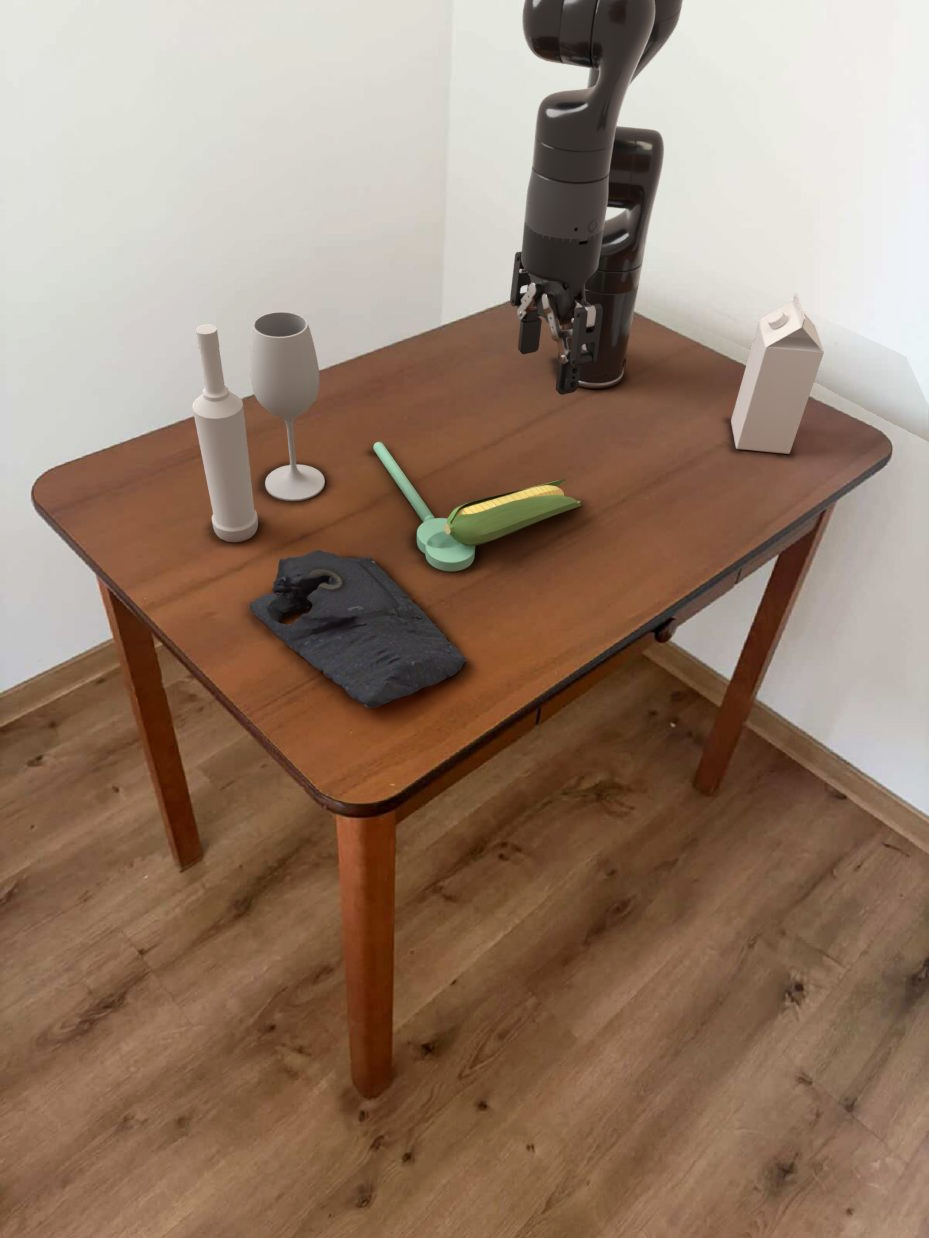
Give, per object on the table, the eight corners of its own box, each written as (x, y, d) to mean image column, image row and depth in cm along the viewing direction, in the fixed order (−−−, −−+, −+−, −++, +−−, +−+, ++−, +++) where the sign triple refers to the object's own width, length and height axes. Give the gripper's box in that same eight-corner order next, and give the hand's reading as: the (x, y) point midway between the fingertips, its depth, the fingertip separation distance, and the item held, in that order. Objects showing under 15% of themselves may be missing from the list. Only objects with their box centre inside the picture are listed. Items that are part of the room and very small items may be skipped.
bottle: (221, 548, 109) (187, 346, 91) (207, 522, 112) (172, 322, 95) (265, 536, 111) (240, 336, 93) (250, 511, 114) (224, 312, 96)
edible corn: (431, 534, 110) (436, 501, 106) (566, 492, 119) (574, 461, 116) (457, 560, 107) (462, 527, 104) (593, 515, 116) (601, 484, 113)
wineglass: (300, 457, 122) (287, 301, 107) (338, 485, 118) (330, 327, 104) (251, 481, 118) (230, 322, 103) (289, 510, 114) (272, 349, 100)
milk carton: (782, 426, 133) (824, 295, 119) (789, 455, 128) (834, 322, 114) (730, 421, 133) (767, 289, 120) (735, 450, 128) (774, 316, 115)
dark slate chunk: (350, 737, 90) (348, 704, 87) (240, 603, 102) (235, 570, 99) (480, 669, 97) (482, 636, 94) (362, 552, 109) (361, 519, 106)
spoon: (356, 453, 123) (356, 444, 122) (397, 444, 125) (397, 435, 124) (437, 576, 107) (437, 567, 106) (482, 564, 109) (483, 555, 108)
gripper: (495, 194, 94) (485, 345, 105) (566, 256, 85) (547, 413, 96) (563, 185, 96) (546, 333, 108) (638, 244, 87) (611, 399, 99)
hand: (546, 371), depth 102 cm, fingers open, 8 cm apart
